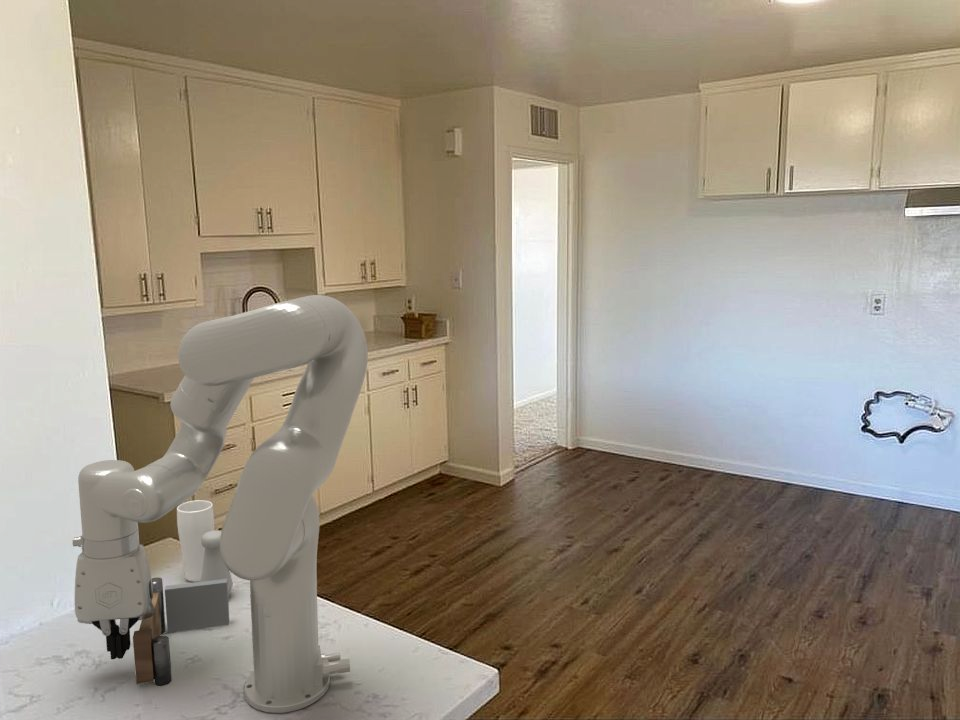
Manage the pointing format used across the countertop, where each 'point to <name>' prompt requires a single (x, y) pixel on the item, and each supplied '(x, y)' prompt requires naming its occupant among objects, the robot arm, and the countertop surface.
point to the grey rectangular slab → (197, 605)
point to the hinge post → (158, 588)
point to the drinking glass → (194, 535)
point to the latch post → (161, 660)
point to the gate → (146, 644)
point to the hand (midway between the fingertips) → (119, 653)
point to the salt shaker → (214, 559)
